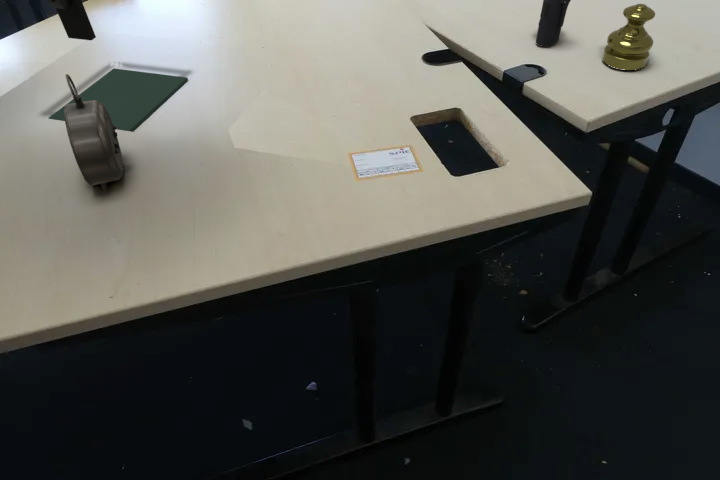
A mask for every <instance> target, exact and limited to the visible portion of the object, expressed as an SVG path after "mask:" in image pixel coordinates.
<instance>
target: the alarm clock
mask: <svg viewBox="0 0 720 480" xmlns="http://www.w3.org/2000/svg"><path fill="white" fill-rule="evenodd" d="M65 79H66V82H67V86H68V88H69V90H70V92H71V95H72V100H73V99H74V101H75V102H76V103H73V104H67V103H66V104H64V106H65V107H64V117H65V121H64V124H65V129H66V133H67V137H68V141H69V144H70V148H71V151H72V154H73V156H74V159H75V161H76V164H77V166H78V168H79V171H80V173H81V175H82V177H83V179H84V181H85V182H86V183H87V184H88V185H89V186H95V185H100V186H101V189H102V191H106V190H107V191H108V184H107V183H110V182H116V181H119V180H120V179H121V178H122V177H123V175H124V172H125V164H124V160H123V154H122V151H121V147H120V143H119V139H118V132H117V131H116V130H118V129H117V127H116V126H113V123H112V121H111V118H110V116H109V113H108V111H107V109H106V108H105V106H104V105H103V104H102V103H101V102H99V101H96V100H92V101H85V102H82V101H81V96H80V95H79V93H78V90H77V88H76V85H75V83H74V81H73V80H72V77H71V76H70V74H68V73H65Z"/></svg>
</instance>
